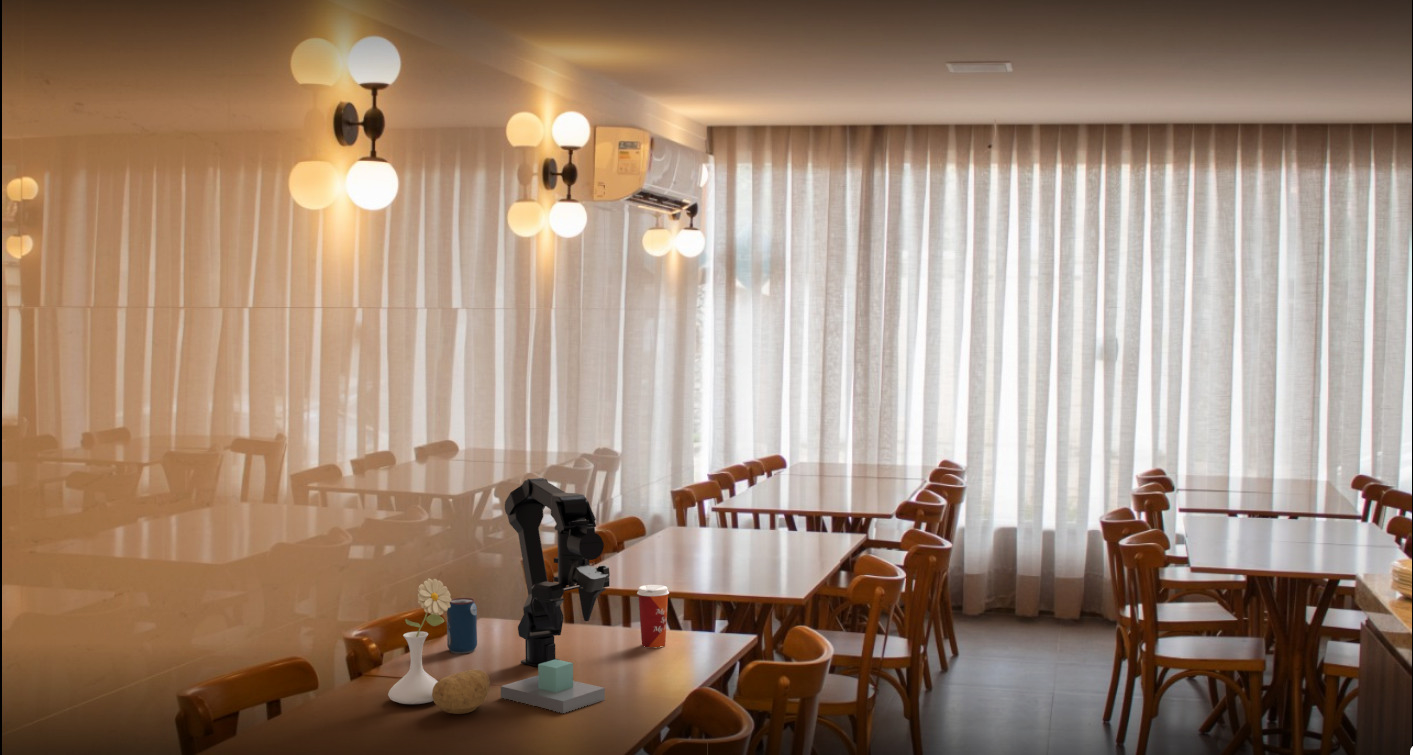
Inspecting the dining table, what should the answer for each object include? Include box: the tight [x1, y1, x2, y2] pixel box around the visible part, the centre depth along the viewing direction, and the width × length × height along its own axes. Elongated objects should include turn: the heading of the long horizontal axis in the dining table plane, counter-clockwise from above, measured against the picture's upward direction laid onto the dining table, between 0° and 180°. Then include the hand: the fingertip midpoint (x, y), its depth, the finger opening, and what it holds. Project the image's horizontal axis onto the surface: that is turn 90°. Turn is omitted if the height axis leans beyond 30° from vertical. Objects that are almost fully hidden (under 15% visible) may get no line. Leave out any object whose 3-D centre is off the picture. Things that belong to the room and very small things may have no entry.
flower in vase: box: [387, 578, 453, 705], centre depth 270 cm, size 13×11×25 cm
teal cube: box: [537, 658, 574, 692], centre depth 270 cm, size 5×5×5 cm
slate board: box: [500, 674, 606, 714], centre depth 271 cm, size 18×12×2 cm, turn 52°
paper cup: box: [636, 584, 670, 648], centre depth 316 cm, size 8×8×14 cm
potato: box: [432, 668, 491, 715], centre depth 263 cm, size 10×14×8 cm
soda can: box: [446, 597, 478, 655], centre depth 312 cm, size 7×7×12 cm
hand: (571, 624), depth 285 cm, fingers open, 9 cm apart
